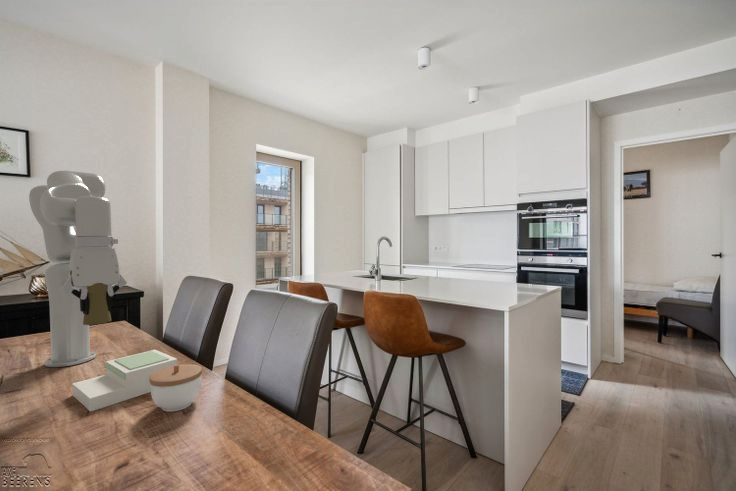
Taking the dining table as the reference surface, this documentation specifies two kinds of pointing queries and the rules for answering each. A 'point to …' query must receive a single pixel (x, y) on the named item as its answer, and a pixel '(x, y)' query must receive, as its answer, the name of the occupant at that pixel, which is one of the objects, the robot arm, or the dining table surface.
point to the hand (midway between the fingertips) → (96, 311)
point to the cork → (97, 305)
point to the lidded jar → (175, 386)
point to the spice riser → (121, 379)
